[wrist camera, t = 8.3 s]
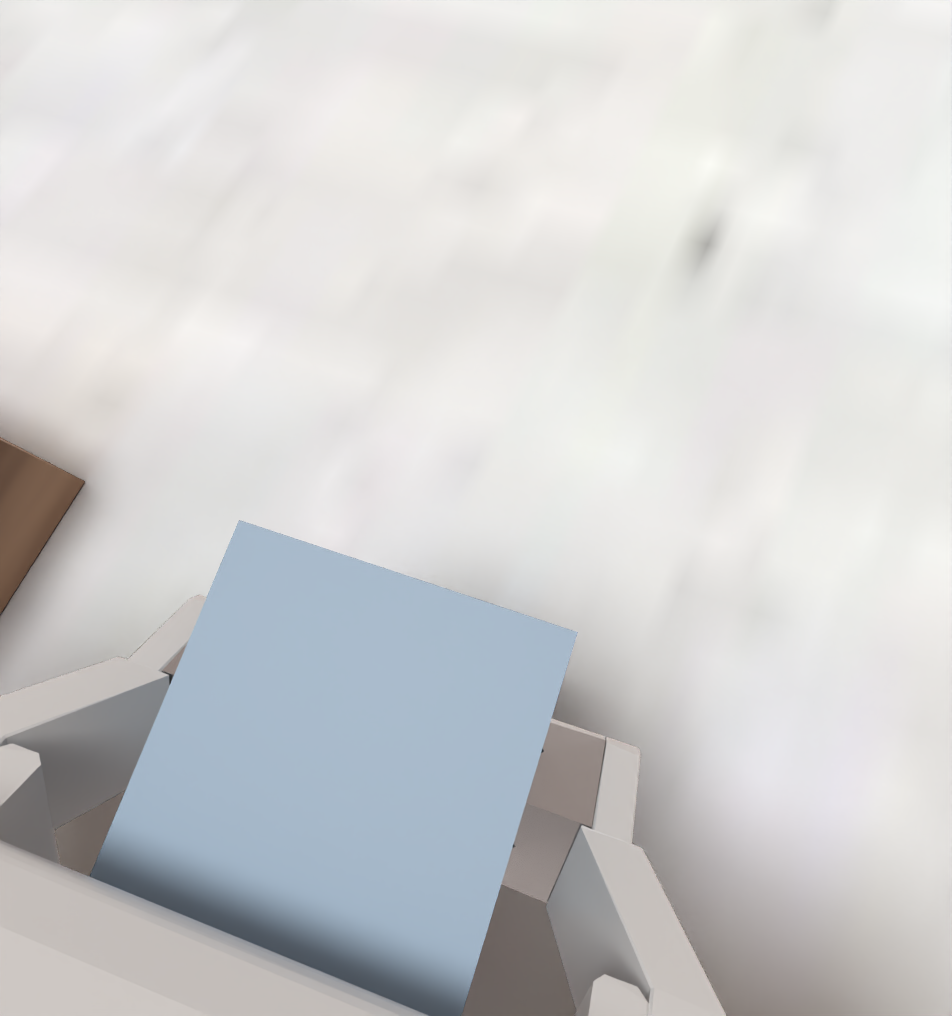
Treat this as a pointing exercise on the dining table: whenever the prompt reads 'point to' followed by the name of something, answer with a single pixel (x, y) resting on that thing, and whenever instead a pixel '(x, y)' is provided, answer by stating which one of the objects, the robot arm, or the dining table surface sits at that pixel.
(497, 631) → the tower block
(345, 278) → the dining table surface
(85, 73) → the dining table surface
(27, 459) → the base brick
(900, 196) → the dining table surface
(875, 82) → the dining table surface
